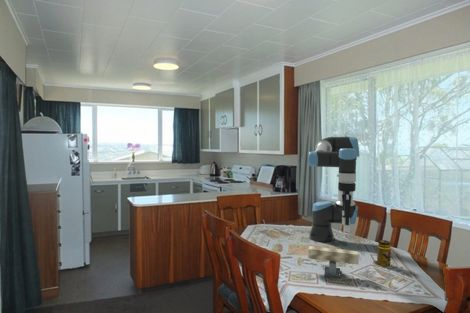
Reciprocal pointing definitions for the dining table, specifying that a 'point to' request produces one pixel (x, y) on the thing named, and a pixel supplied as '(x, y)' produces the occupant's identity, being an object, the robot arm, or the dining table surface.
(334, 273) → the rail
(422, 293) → the dining table surface
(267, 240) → the dining table surface
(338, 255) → the bar
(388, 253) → the condiment
